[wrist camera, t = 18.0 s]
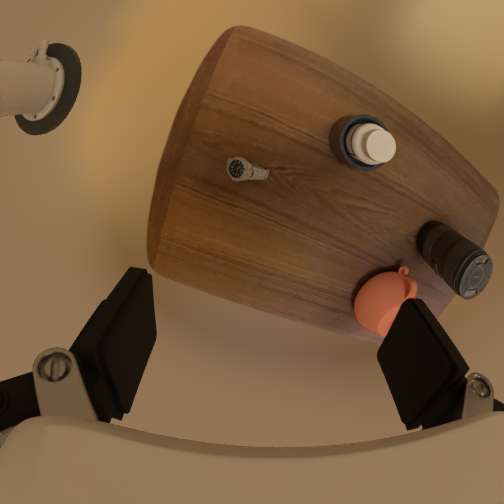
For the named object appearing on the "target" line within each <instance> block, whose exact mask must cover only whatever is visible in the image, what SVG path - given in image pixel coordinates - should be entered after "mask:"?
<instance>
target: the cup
mask: <svg viewBox="0 0 504 504" xmlns="http://www.w3.org/2000/svg"><path fill="white" fill-rule="evenodd" d="M352 123H371V124H376V125H378V126H380V127H382V128H383V129H384V130H385V131H387V132H388V129H387V128H386V127H385V125H384V124H383V123H382V122H381V121H380V120H378V119H377V118H375V117H372V116H369V115H356V116H346V117H343V118H341V119H339V120H338V121H337V122H336V123H335V124H334V125H333V127H332V129H331V132H330V145H331V149H332V151H333V153H334V154H335V155H336V157H337V158H338V159H340V160H341V161H343V162H345V163H346V164H348V165H351V166H353V167H355V168H357V169H360V170H364V171H368V170H374V169H376V168H379V167H380V166H382V165H383V164H384V163H385V162H384V163H379V164H376V165H370V164H366V163H363V162H361V161H358V160H355V159H352V158H350V157H348V156H347V153H346V151H345V149H344V141H343V140H344V135H345V132H346V130H347V128H348V126H349V125H351V124H352Z"/></svg>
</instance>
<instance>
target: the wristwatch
mask: <svg viewBox="0 0 504 504" xmlns="http://www.w3.org/2000/svg"><path fill="white" fill-rule="evenodd" d="M226 170H227V173H228V175H229V176H230V177H231V178H232V180H234V182H238V181H243V180H253V179H255V180H266V179H267V178H268V176H269V169H267V168H266V167H262V165H258V164H255V163H254V162H250V161H247V160H246V159H245V158H243V157H234V158H228V160H227V162H226Z"/></svg>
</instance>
